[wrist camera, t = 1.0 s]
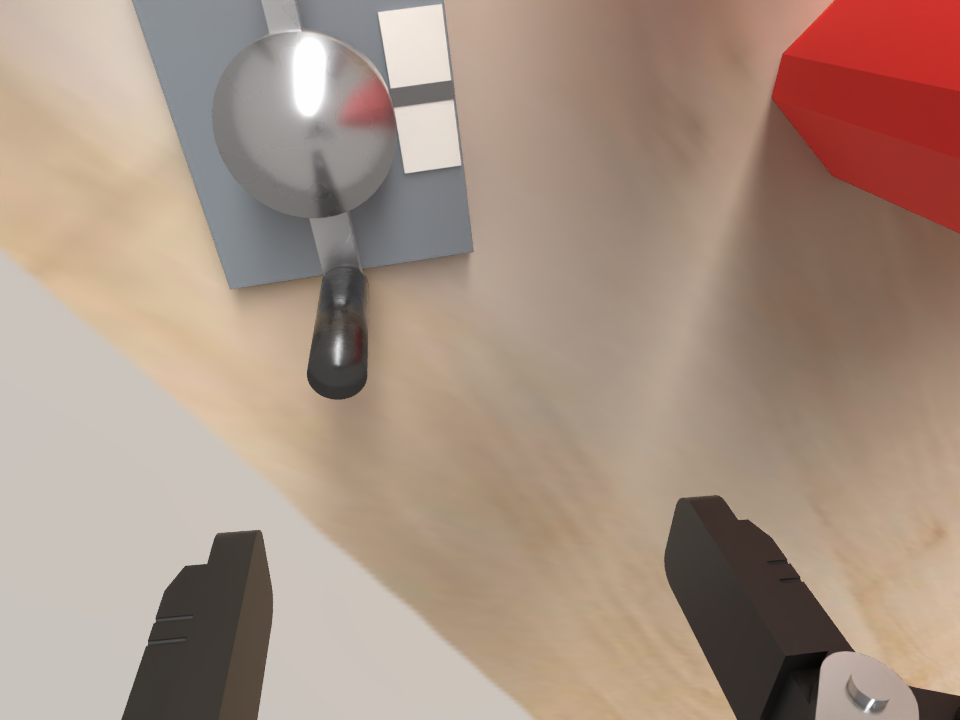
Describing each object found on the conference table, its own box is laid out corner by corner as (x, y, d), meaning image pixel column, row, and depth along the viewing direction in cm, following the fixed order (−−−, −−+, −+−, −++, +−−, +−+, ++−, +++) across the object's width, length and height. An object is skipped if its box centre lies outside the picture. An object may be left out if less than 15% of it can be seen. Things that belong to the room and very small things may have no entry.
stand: (425, -123, 24) (433, -137, 21) (469, 240, 31) (480, 270, 28) (116, -88, 23) (75, -96, 20) (236, 275, 30) (220, 311, 27)
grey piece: (359, -94, 21) (352, -125, 14) (422, 280, 27) (438, 383, 21) (167, -72, 20) (62, -91, 13) (279, 303, 27) (247, 415, 20)
